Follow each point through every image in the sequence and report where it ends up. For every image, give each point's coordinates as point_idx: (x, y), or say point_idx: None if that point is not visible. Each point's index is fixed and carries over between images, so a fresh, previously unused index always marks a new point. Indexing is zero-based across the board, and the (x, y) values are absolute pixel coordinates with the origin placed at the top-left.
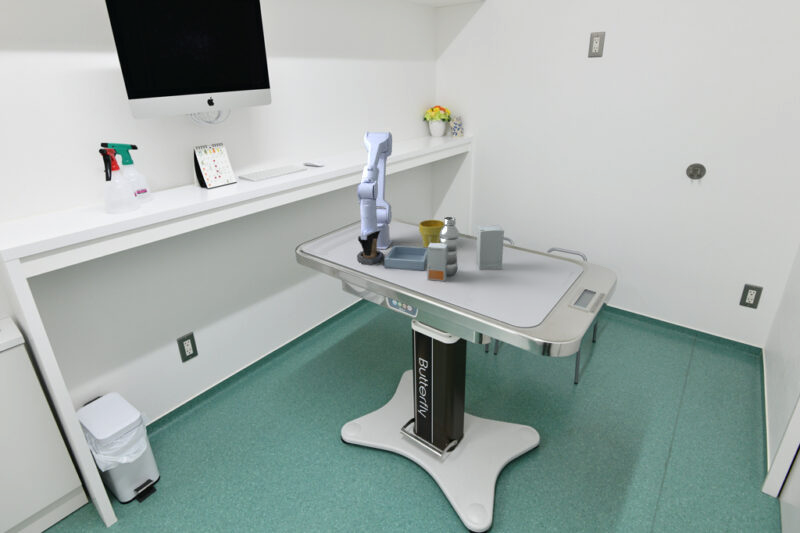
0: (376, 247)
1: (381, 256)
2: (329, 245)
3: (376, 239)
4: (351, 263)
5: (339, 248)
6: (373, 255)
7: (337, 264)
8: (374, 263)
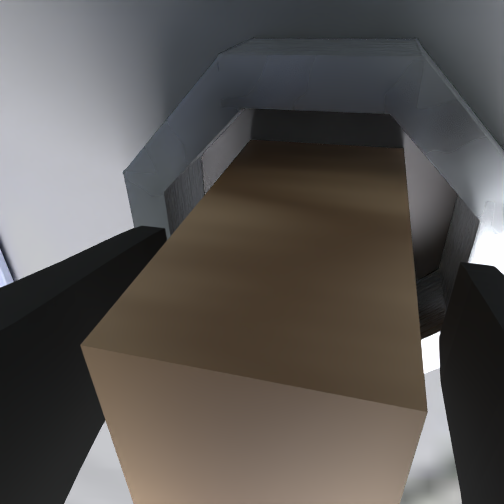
0: (204, 223)
1: (366, 54)
2: (96, 493)
3: (98, 334)
4: (426, 381)
5: (116, 454)
6: (407, 207)
7: (454, 471)
8: (491, 136)
